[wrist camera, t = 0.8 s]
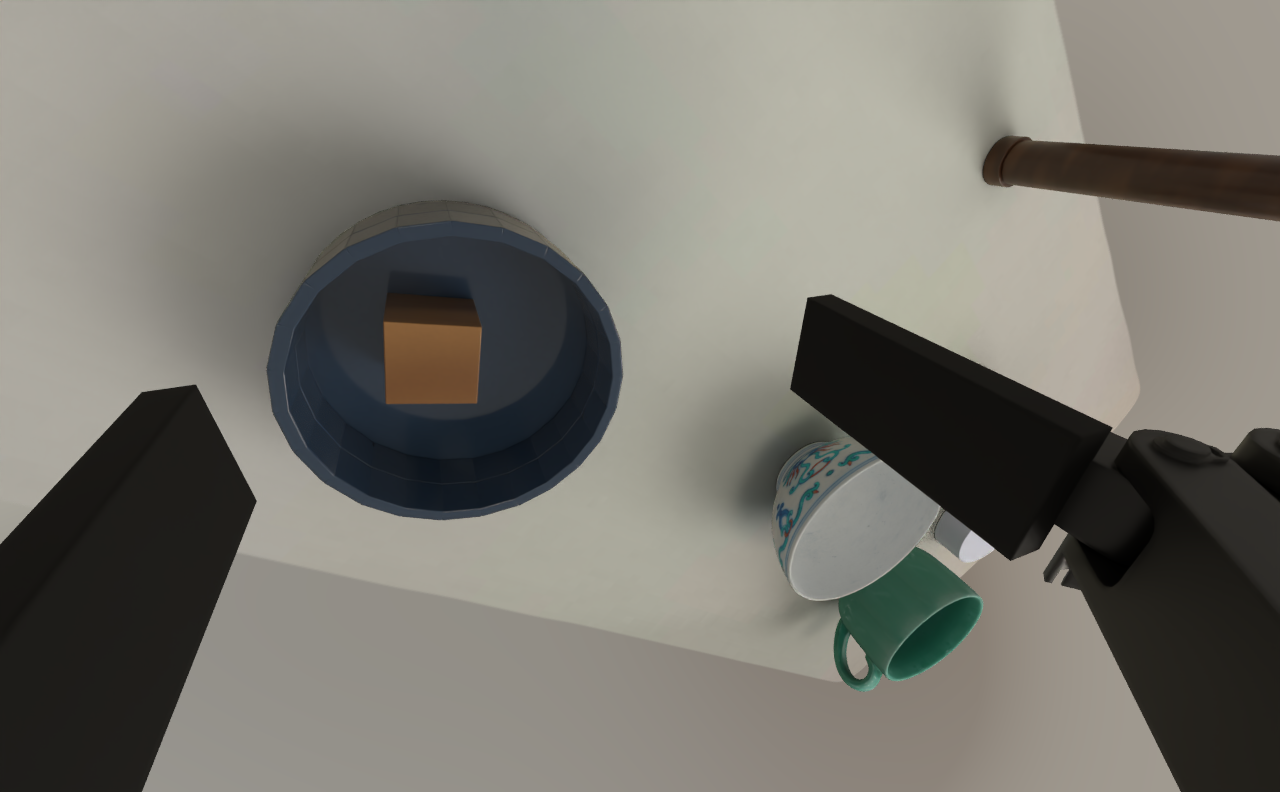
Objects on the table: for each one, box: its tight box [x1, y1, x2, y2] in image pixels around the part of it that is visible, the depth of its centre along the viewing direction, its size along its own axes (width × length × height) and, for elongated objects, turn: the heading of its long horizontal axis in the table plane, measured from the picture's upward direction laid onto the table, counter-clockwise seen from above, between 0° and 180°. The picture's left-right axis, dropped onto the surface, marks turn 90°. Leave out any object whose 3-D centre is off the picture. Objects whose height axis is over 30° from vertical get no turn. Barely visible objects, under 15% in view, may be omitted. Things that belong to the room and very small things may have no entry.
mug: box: [834, 547, 983, 692], centre depth 54 cm, size 17×13×10 cm
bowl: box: [266, 200, 623, 520], centre depth 25 cm, size 15×15×6 cm
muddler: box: [983, 136, 1280, 221], centre depth 29 cm, size 3×3×16 cm
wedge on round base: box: [935, 511, 995, 563], centre depth 57 cm, size 9×7×13 cm
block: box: [383, 293, 482, 404], centre depth 24 cm, size 4×4×4 cm
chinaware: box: [772, 437, 941, 601], centre depth 42 cm, size 15×15×8 cm
